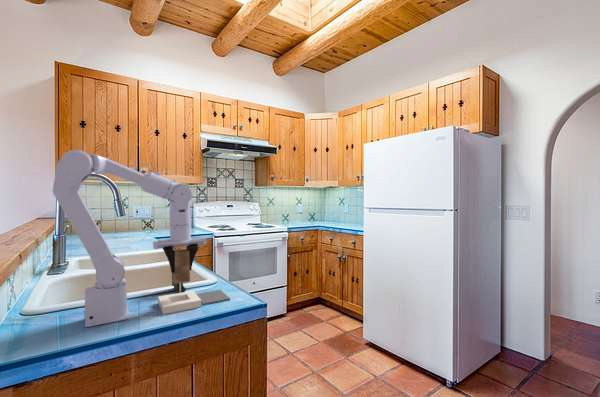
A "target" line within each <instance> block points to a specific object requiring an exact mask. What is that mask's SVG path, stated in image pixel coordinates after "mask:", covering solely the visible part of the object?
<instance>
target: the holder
mask: <svg viewBox="0 0 600 397" xmlns="http://www.w3.org/2000/svg"><path fill="white" fill-rule="evenodd" d="M197 294H198V293H196V292H195V291H194V290H189V291H183V292H176V293H172V294H171V293H170V294H165V295H159V296H157V303H158V306H159V308H160V311H161V313H162V315H167V314H173V313H178V312H182V311H187V310H193V309H198V308H202V303H201V299H200V298H199V297H198V296H197Z"/></svg>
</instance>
